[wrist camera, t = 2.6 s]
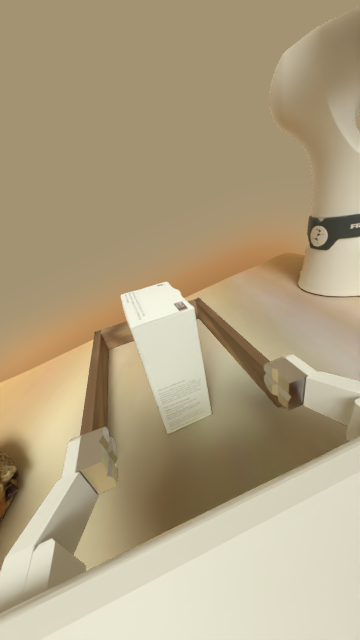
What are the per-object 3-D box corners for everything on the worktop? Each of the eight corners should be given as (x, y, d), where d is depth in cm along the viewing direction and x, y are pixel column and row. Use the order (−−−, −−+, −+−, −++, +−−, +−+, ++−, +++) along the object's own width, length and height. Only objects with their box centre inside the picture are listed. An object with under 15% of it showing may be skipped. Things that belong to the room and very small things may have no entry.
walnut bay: (202, 314, 47) (199, 297, 45) (287, 403, 24) (288, 378, 22) (102, 348, 43) (94, 331, 41) (93, 488, 21) (75, 467, 19)
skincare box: (152, 388, 31) (116, 294, 23) (190, 372, 32) (166, 278, 25) (169, 439, 23) (123, 326, 16) (217, 416, 25) (194, 301, 17)
